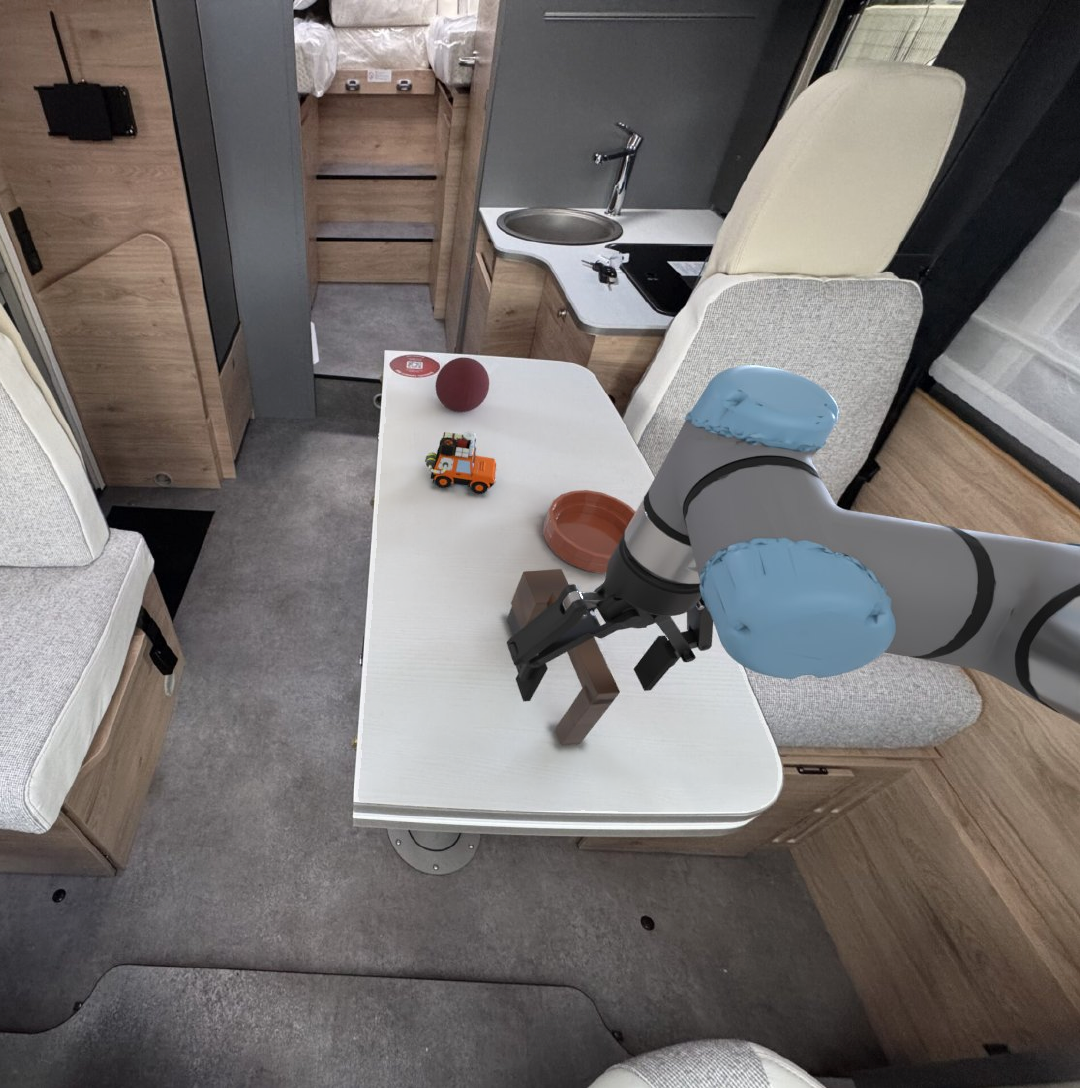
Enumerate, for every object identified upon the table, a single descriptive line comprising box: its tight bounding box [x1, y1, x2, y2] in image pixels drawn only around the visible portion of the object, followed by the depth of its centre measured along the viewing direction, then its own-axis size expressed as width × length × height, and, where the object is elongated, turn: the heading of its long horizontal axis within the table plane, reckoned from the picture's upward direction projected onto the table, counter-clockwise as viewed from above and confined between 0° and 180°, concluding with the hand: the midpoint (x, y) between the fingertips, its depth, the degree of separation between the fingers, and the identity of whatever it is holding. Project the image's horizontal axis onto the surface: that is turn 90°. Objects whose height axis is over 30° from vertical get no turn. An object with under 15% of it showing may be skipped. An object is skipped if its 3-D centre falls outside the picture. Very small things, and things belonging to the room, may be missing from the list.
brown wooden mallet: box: [506, 568, 621, 747], centre depth 68 cm, size 18×5×12 cm, turn 7°
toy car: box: [424, 431, 498, 495], centre depth 94 cm, size 7×12×9 cm, turn 80°
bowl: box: [542, 489, 636, 574], centre depth 87 cm, size 14×14×4 cm
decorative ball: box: [435, 356, 490, 413], centre depth 108 cm, size 10×10×10 cm
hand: (582, 684), depth 62 cm, fingers open, 13 cm apart
